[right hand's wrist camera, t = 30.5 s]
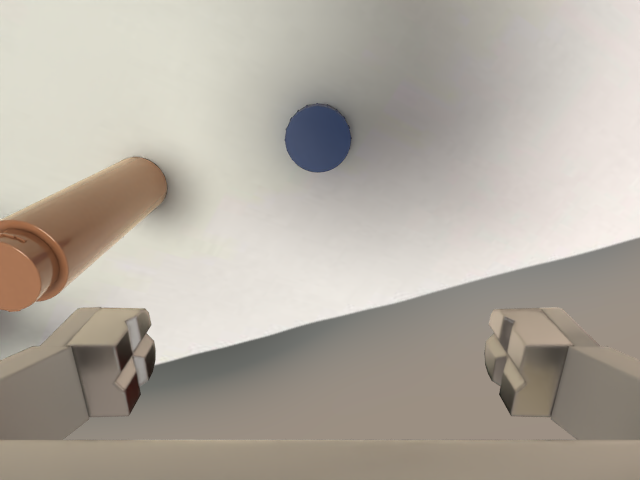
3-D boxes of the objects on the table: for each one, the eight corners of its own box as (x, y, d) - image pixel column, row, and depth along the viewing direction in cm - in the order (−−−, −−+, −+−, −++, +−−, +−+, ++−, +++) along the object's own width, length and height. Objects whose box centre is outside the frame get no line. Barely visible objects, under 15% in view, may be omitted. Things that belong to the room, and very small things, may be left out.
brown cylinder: (106, 157, 39) (-65, 233, 21) (162, 155, 39) (35, 230, 21) (118, 211, 40) (-32, 319, 23) (171, 209, 40) (60, 317, 23)
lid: (344, 171, 39) (345, 176, 37) (283, 163, 39) (281, 168, 37) (354, 107, 37) (356, 110, 35) (289, 99, 37) (288, 100, 35)
